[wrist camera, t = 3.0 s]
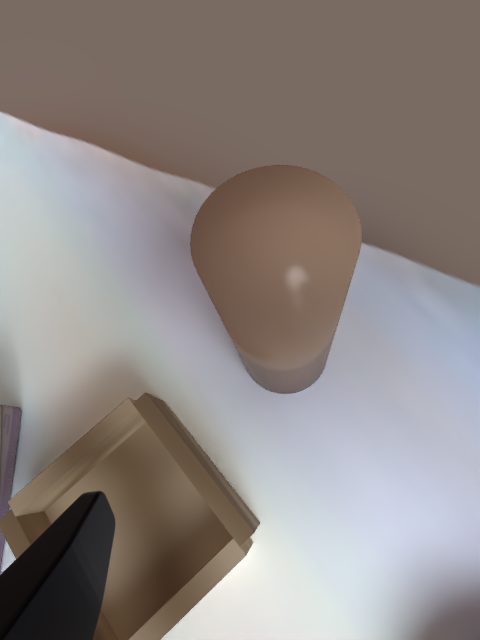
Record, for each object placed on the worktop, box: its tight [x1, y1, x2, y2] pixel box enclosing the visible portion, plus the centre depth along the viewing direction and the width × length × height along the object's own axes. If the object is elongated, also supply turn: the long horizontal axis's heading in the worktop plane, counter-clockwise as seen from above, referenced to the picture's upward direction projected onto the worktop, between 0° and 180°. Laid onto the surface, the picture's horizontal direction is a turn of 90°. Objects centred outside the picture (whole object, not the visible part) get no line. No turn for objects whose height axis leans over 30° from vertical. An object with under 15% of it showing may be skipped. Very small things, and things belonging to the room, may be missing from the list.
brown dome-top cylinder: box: [190, 165, 362, 394], centre depth 16 cm, size 5×5×12 cm
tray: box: [0, 393, 260, 640], centre depth 18 cm, size 9×9×3 cm
